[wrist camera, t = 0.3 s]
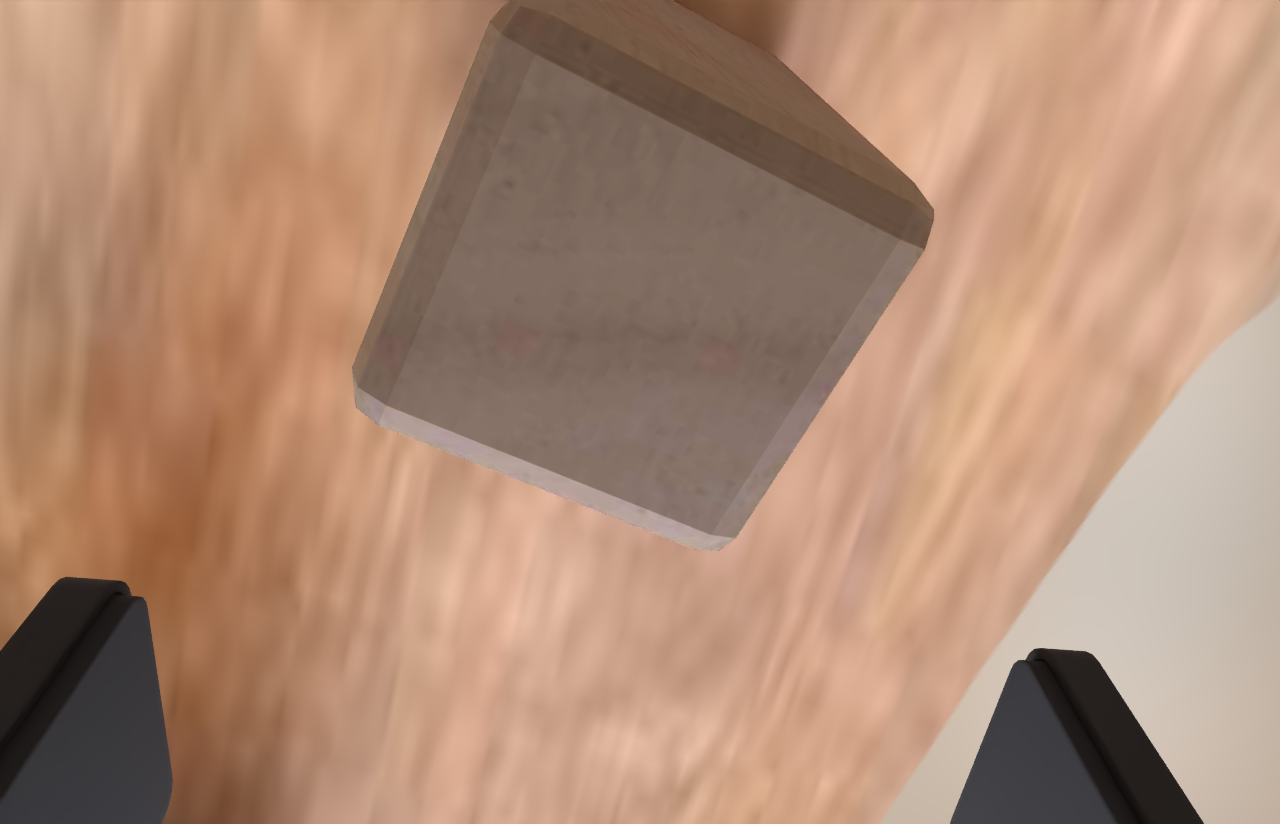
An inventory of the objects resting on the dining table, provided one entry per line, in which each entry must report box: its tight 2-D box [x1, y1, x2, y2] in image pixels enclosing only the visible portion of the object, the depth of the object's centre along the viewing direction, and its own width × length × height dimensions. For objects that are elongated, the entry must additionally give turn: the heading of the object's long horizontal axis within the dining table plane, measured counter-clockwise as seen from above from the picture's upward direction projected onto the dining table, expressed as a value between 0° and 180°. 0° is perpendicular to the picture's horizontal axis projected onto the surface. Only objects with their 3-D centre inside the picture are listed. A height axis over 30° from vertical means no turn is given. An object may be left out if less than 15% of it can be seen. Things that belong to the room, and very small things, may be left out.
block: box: [352, 0, 934, 551], centre depth 29 cm, size 10×10×20 cm
